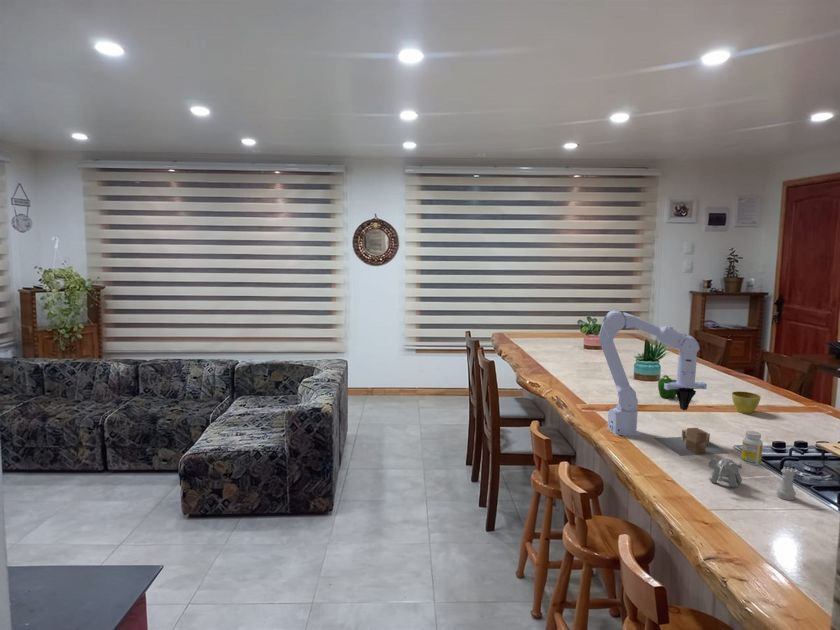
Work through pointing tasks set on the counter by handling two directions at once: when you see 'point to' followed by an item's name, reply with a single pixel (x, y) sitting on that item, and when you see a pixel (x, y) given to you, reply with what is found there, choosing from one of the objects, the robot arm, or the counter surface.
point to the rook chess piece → (787, 485)
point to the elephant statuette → (725, 471)
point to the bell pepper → (664, 392)
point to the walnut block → (696, 440)
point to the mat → (680, 446)
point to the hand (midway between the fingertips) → (683, 409)
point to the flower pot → (745, 401)
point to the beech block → (684, 436)
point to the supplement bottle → (752, 448)
